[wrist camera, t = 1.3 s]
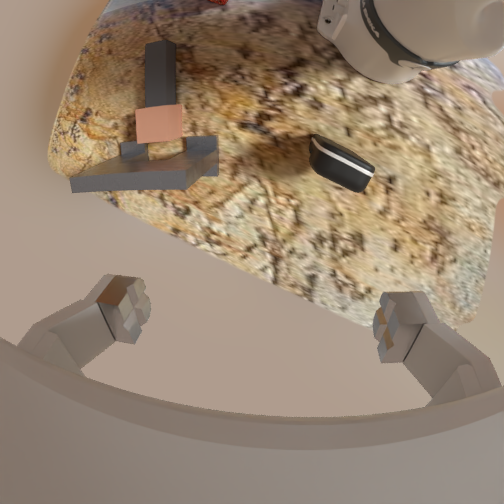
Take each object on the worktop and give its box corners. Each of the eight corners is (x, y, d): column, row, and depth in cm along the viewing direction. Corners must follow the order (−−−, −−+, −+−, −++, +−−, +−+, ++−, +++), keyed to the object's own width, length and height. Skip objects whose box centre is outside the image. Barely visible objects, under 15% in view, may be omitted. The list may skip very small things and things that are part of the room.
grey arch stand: (123, 141, 38) (67, 162, 26) (218, 135, 37) (184, 150, 25) (127, 176, 41) (75, 207, 29) (218, 174, 40) (188, 207, 28)
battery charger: (302, 155, 37) (308, 174, 27) (313, 132, 35) (323, 141, 25) (345, 175, 37) (365, 201, 28) (356, 153, 36) (381, 171, 26)
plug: (151, 48, 30) (135, 44, 26) (181, 43, 30) (168, 36, 26) (152, 138, 38) (137, 143, 34) (182, 136, 37) (169, 141, 33)
